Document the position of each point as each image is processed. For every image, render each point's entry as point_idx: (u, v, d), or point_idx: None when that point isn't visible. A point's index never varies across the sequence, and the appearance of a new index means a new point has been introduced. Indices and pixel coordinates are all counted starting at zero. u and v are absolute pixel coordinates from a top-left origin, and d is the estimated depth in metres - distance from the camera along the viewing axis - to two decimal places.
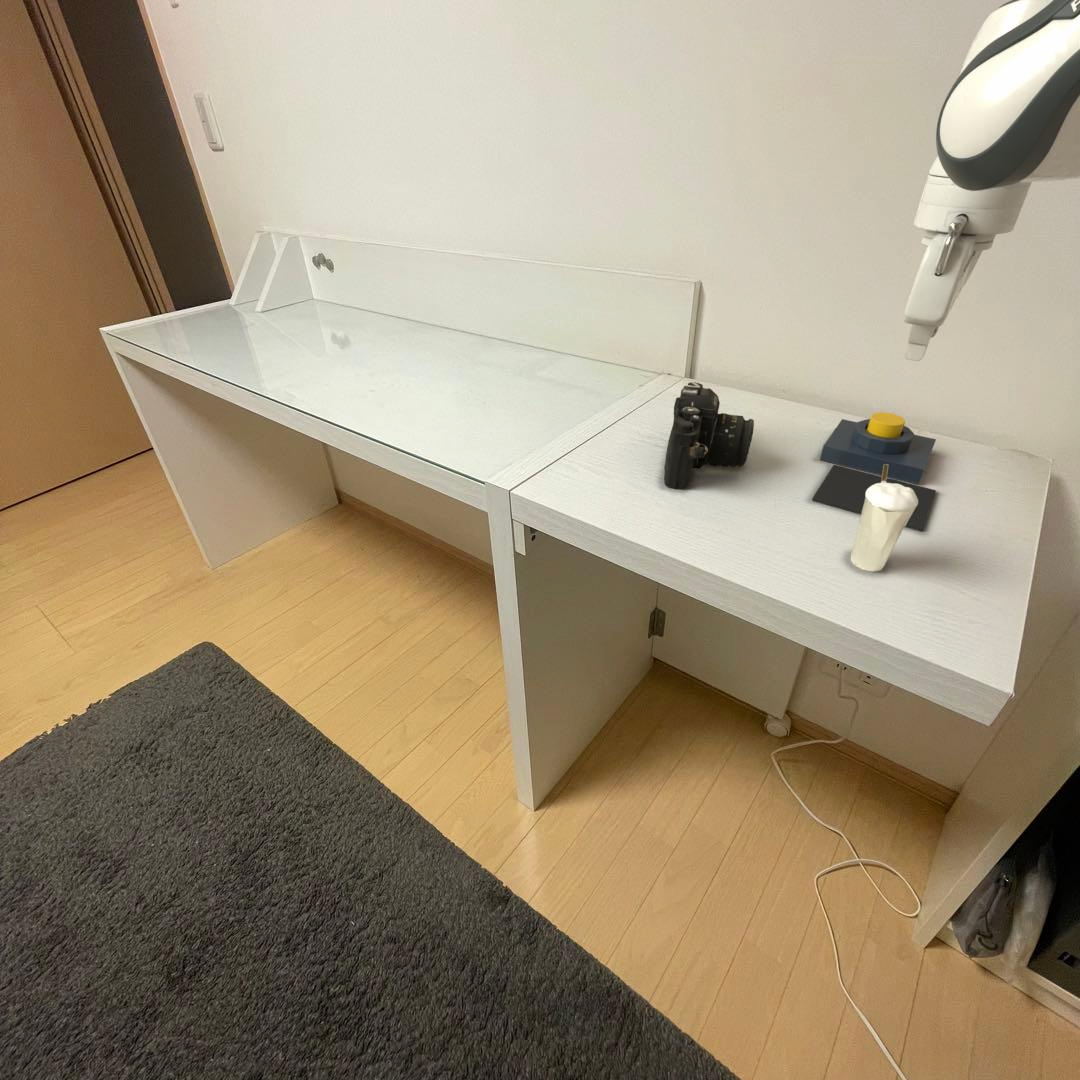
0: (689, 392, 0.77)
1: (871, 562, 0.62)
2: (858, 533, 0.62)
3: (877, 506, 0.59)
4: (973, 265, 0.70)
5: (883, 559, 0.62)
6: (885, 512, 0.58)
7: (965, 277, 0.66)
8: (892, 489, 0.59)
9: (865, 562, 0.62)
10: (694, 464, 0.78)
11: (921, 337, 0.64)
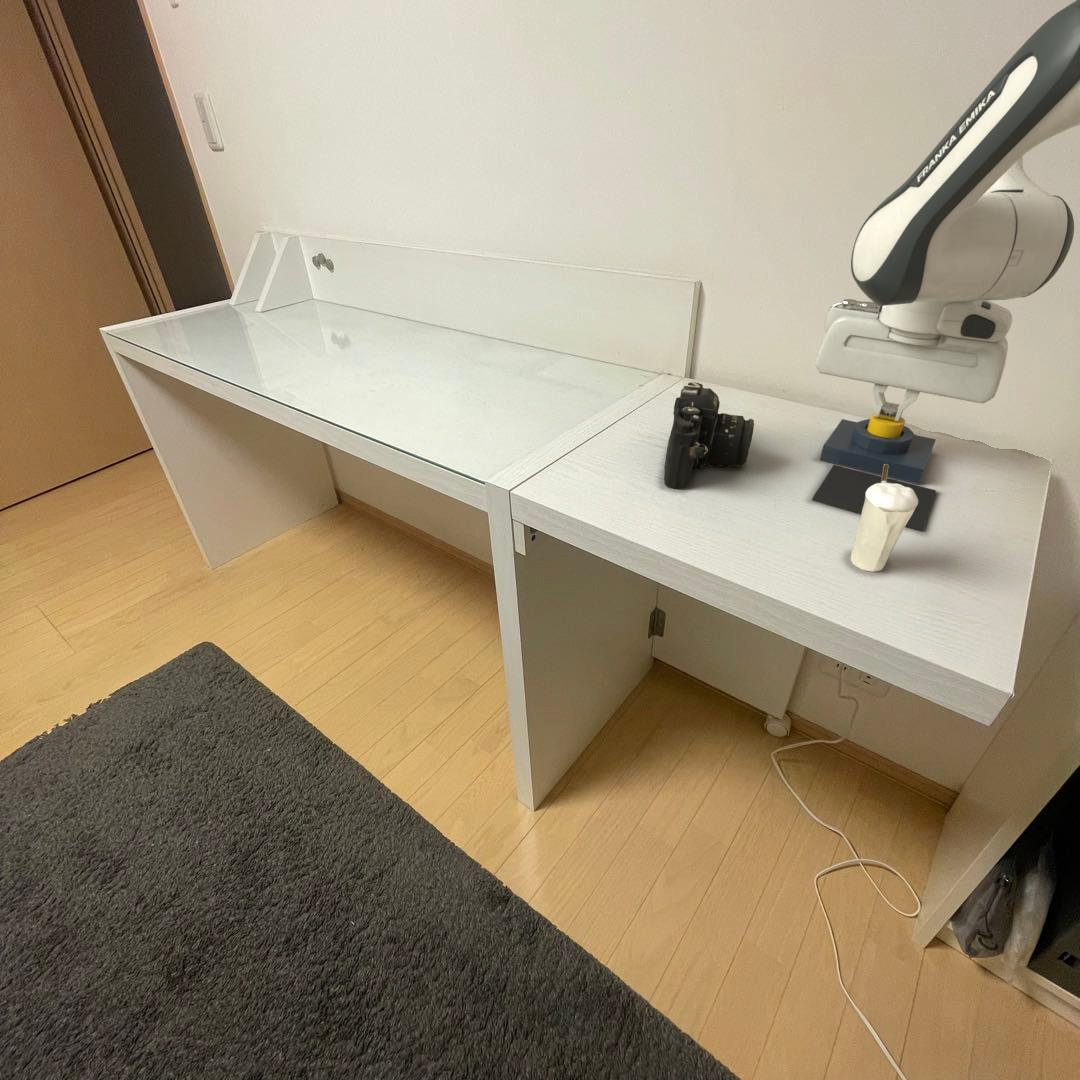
0: (689, 392, 0.77)
1: (871, 562, 0.62)
2: (858, 533, 0.62)
3: (877, 506, 0.59)
4: (986, 383, 0.70)
5: (883, 559, 0.62)
6: (885, 512, 0.58)
7: (930, 375, 0.73)
8: (892, 489, 0.59)
9: (865, 562, 0.62)
10: (694, 464, 0.78)
11: None
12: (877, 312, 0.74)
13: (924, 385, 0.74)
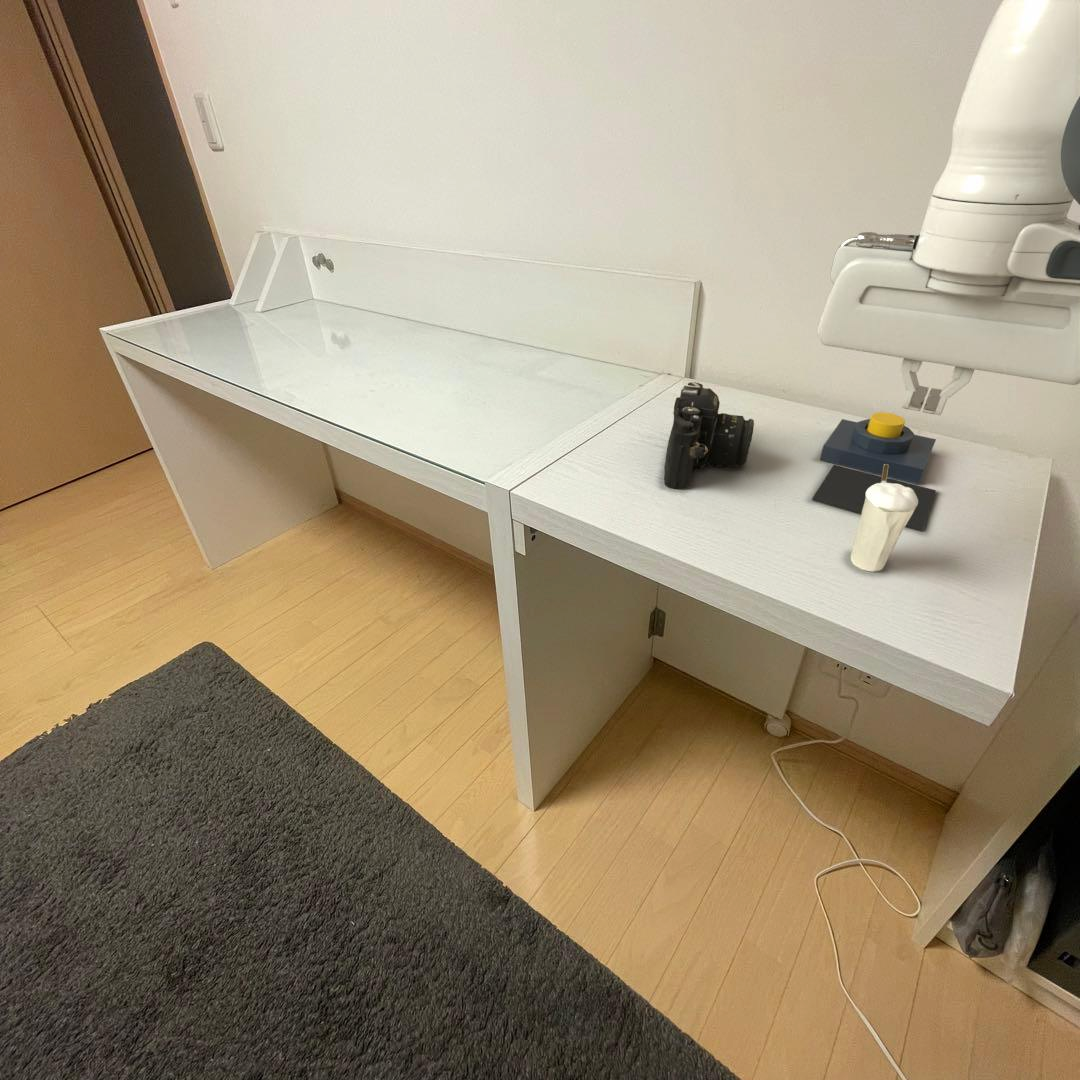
0: (689, 392, 0.77)
1: (871, 562, 0.62)
2: (858, 533, 0.62)
3: (877, 506, 0.59)
4: None
5: (883, 559, 0.62)
6: (885, 512, 0.58)
7: (991, 342, 0.48)
8: (892, 489, 0.59)
9: (865, 562, 0.62)
10: (694, 464, 0.78)
11: None
12: (910, 249, 0.49)
13: (982, 359, 0.49)
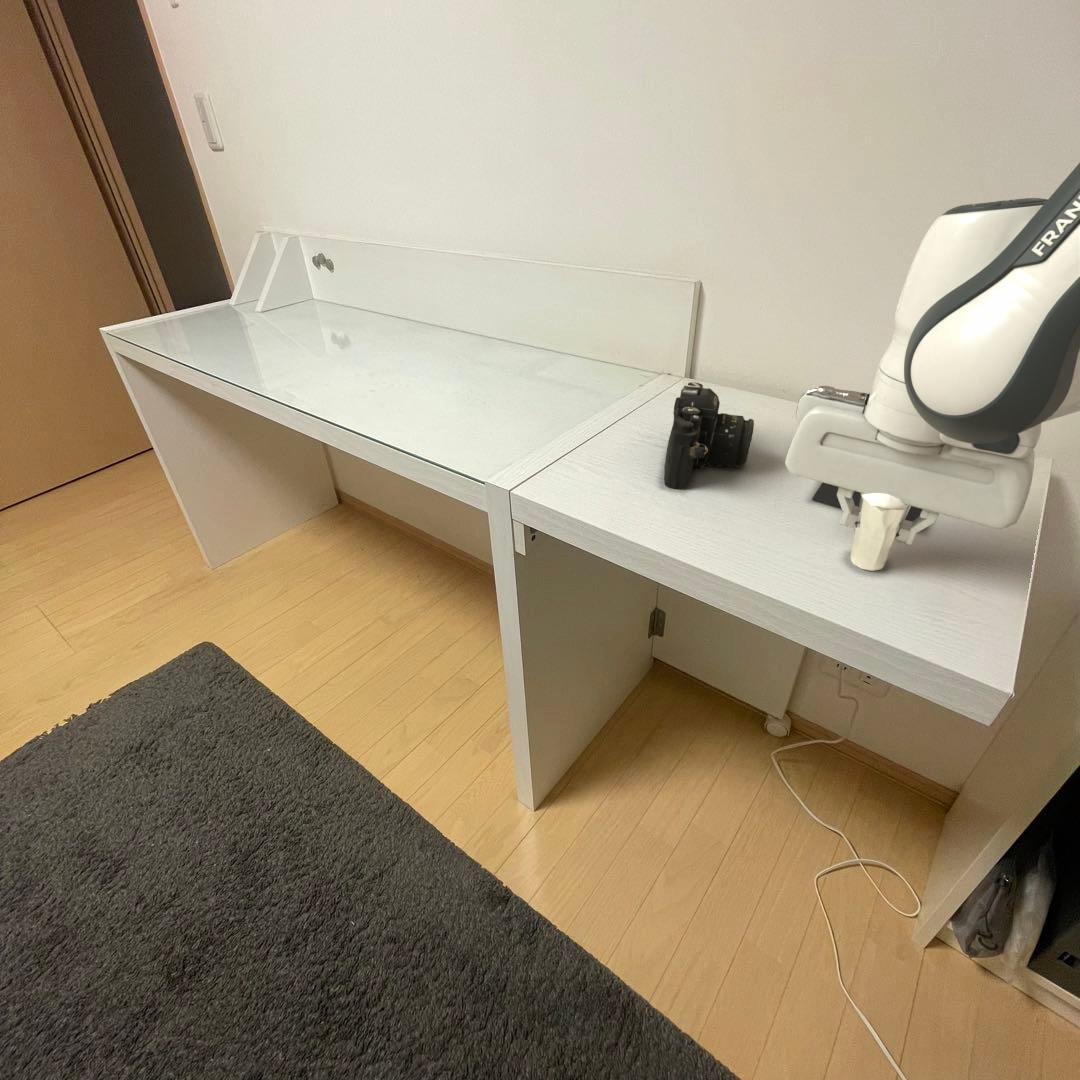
0: (689, 392, 0.77)
1: (871, 561, 0.62)
2: (856, 532, 0.62)
3: (873, 505, 0.59)
4: (1006, 506, 0.53)
5: (883, 557, 0.62)
6: (881, 510, 0.58)
7: (931, 489, 0.56)
8: None
9: (865, 561, 0.62)
10: (694, 464, 0.78)
11: None
12: (862, 405, 0.57)
13: (923, 501, 0.56)
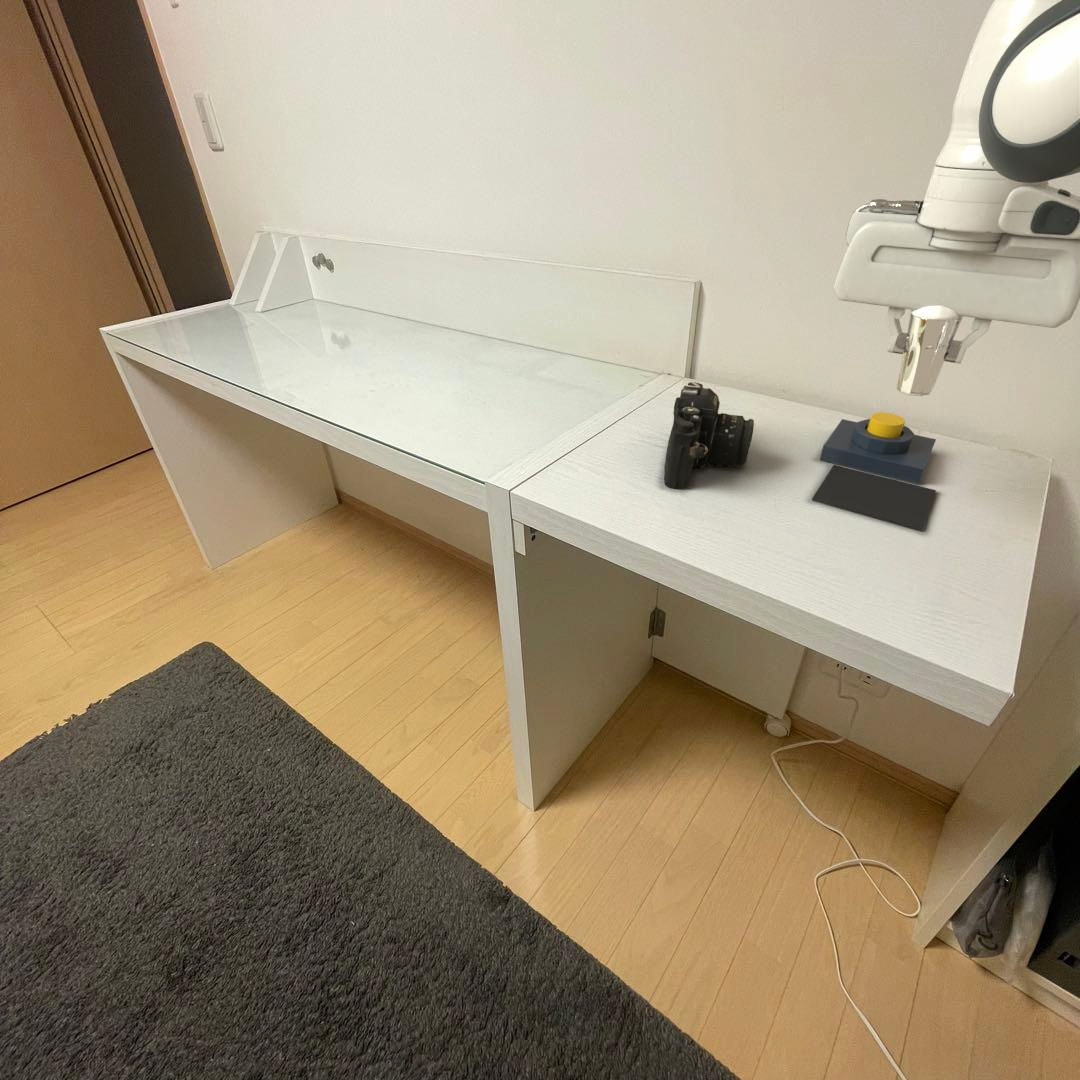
0: (689, 392, 0.77)
1: (919, 385, 0.63)
2: (904, 357, 0.63)
3: (924, 319, 0.59)
4: (1062, 299, 0.53)
5: (931, 380, 0.62)
6: (932, 323, 0.59)
7: (984, 292, 0.56)
8: None
9: (913, 385, 0.63)
10: (694, 464, 0.78)
11: None
12: (915, 213, 0.57)
13: (976, 307, 0.57)
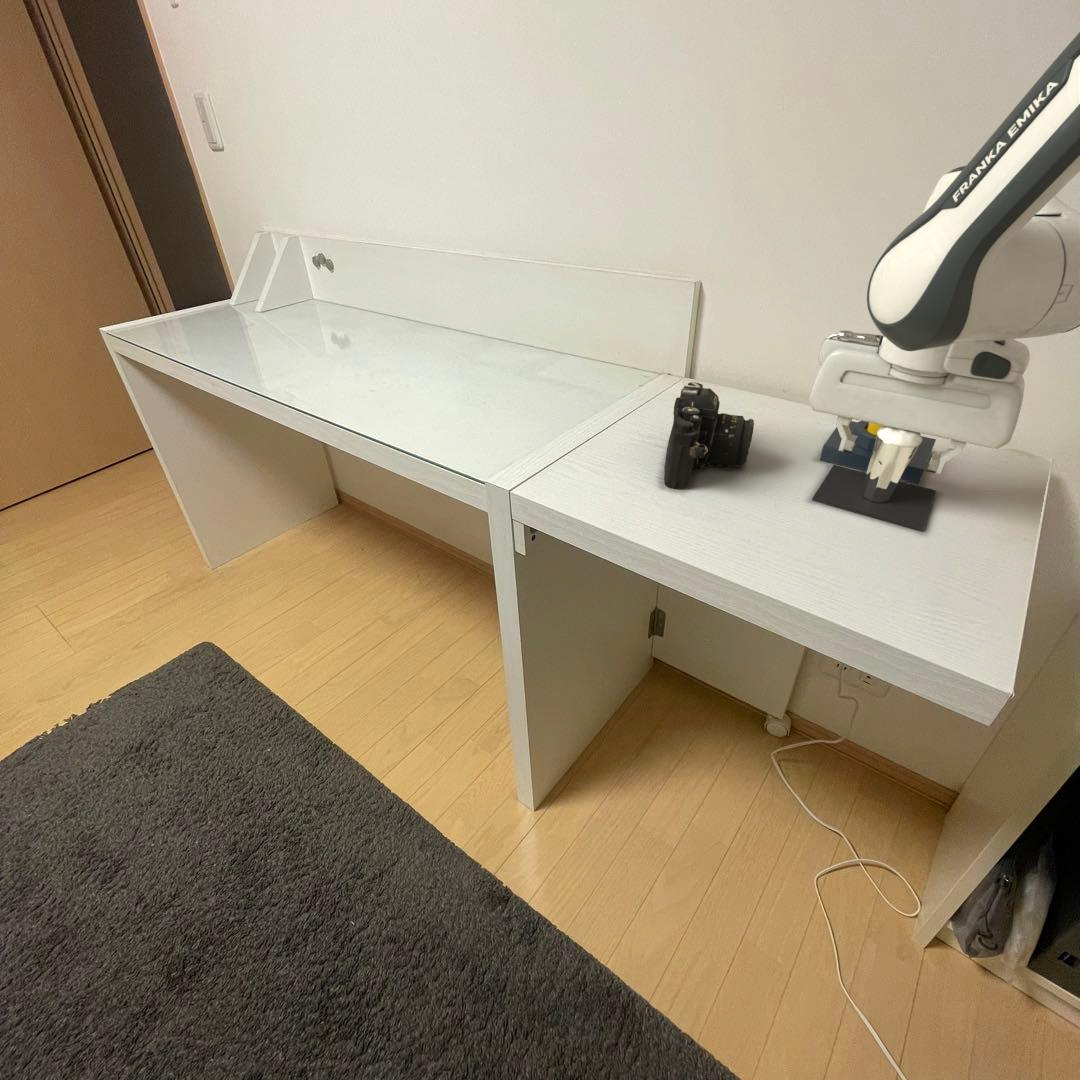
0: (689, 392, 0.77)
1: (879, 494, 0.72)
2: (869, 469, 0.72)
3: (887, 443, 0.68)
4: (1001, 427, 0.62)
5: (890, 491, 0.72)
6: (894, 448, 0.68)
7: (936, 416, 0.65)
8: None
9: (874, 494, 0.72)
10: (694, 464, 0.78)
11: None
12: (877, 345, 0.66)
13: (930, 427, 0.66)
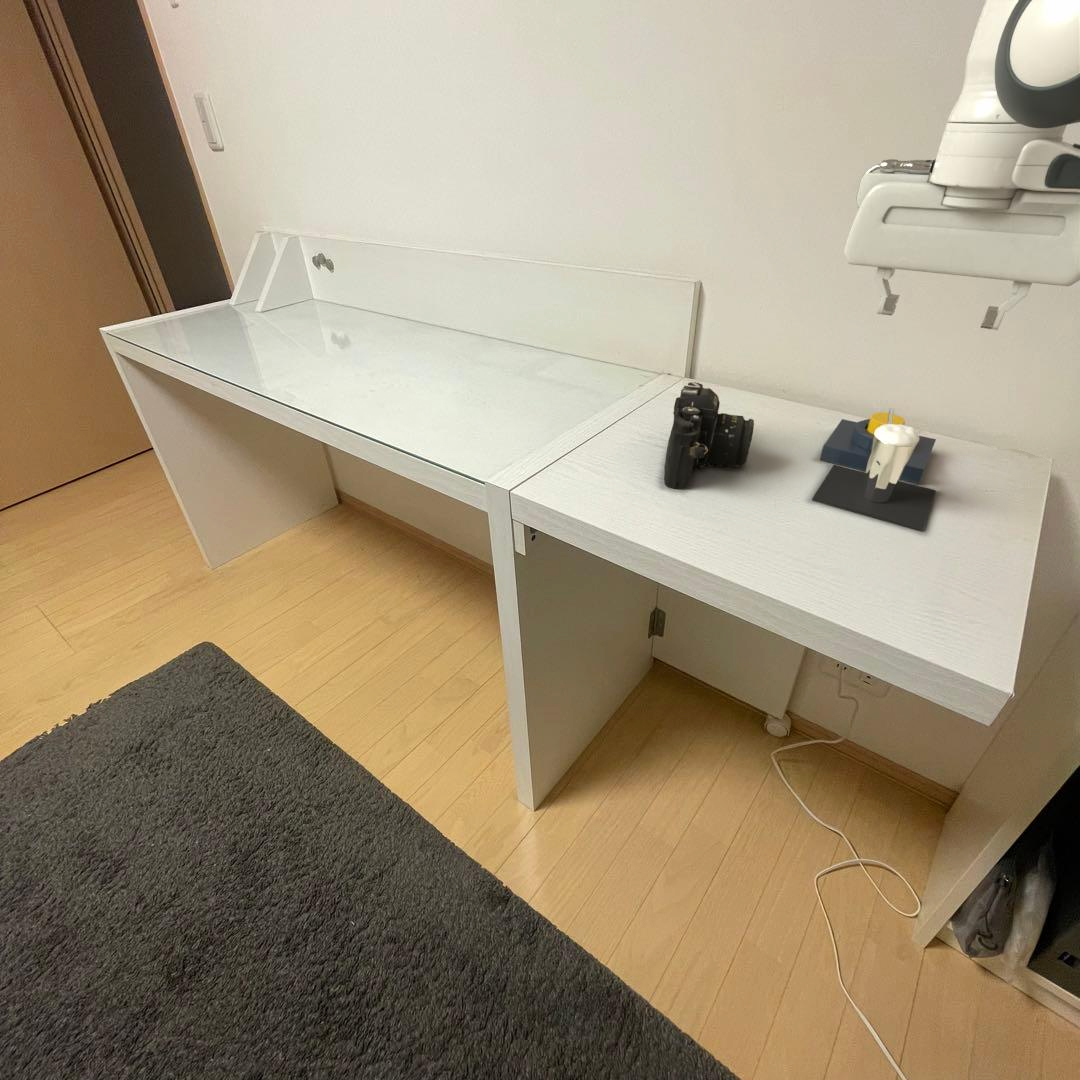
0: (689, 392, 0.77)
1: (879, 494, 0.72)
2: (867, 469, 0.72)
3: (884, 443, 0.68)
4: (1076, 256, 0.53)
5: (889, 491, 0.72)
6: (891, 447, 0.68)
7: (997, 252, 0.56)
8: (897, 428, 0.69)
9: (874, 494, 0.72)
10: (694, 464, 0.78)
11: None
12: (927, 173, 0.57)
13: (989, 267, 0.56)
